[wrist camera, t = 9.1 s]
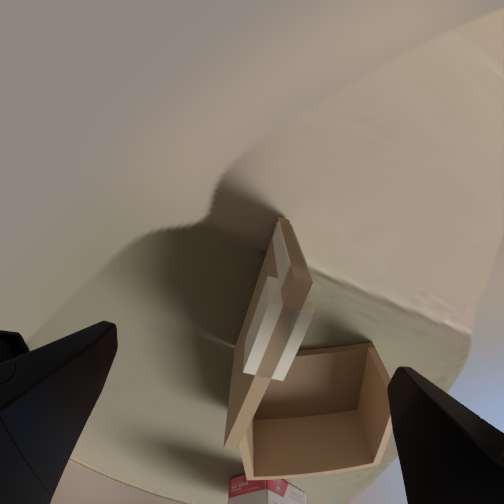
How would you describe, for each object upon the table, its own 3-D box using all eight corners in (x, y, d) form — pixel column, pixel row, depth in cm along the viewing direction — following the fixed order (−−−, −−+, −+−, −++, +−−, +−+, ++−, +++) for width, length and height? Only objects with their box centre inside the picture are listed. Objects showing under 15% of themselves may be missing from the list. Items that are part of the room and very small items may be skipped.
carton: (249, 418, 22) (246, 480, 17) (240, 354, 20) (234, 422, 14) (360, 407, 22) (378, 464, 16) (372, 341, 20) (401, 402, 14)
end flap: (250, 352, 20) (245, 451, 12) (227, 346, 20) (213, 445, 12) (296, 222, 17) (326, 286, 9) (270, 214, 17) (279, 273, 9)
